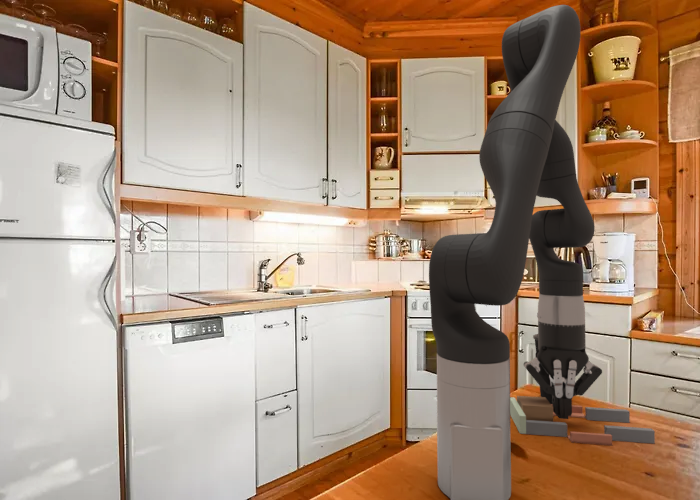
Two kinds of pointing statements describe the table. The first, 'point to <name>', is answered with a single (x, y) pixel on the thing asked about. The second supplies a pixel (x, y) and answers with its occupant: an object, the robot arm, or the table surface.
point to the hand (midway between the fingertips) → (562, 417)
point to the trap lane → (593, 438)
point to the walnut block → (536, 408)
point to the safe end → (518, 415)
